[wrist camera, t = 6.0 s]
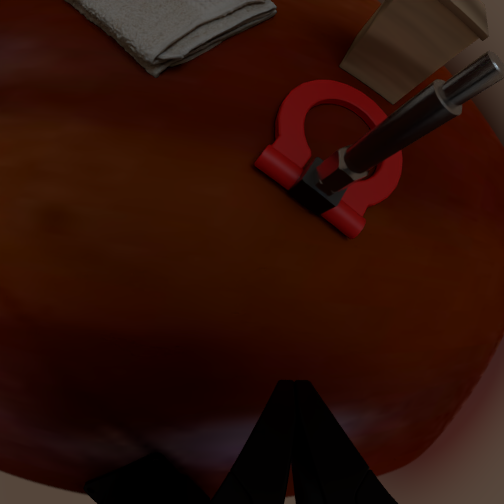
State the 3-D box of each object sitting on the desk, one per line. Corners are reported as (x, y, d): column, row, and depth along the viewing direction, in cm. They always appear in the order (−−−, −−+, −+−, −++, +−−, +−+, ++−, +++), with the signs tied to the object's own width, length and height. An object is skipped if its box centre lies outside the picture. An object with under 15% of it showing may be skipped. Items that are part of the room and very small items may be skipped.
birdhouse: (394, 107, 21) (488, 36, 10) (293, 41, 19) (353, -64, 9) (406, 69, 22) (484, 4, 11) (318, 11, 20) (373, -77, 10)
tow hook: (313, 68, 20) (235, 160, 18) (418, -70, 7) (353, -49, 4) (406, 145, 21) (356, 252, 19) (548, 60, 8) (572, 197, 5)
